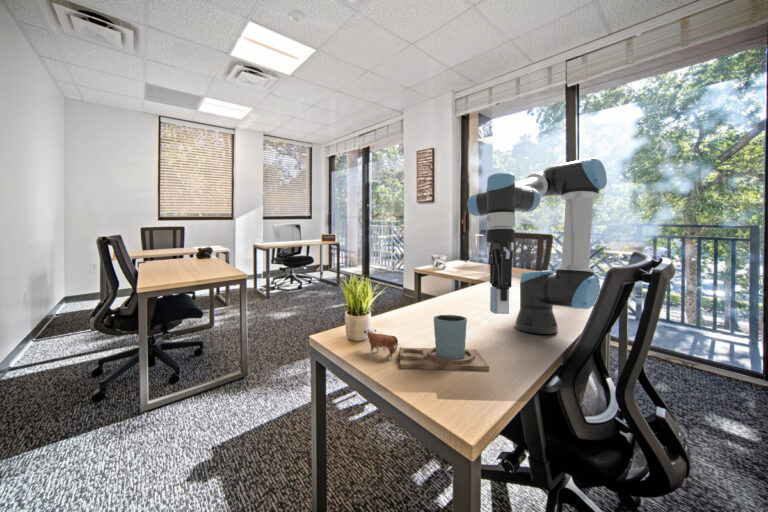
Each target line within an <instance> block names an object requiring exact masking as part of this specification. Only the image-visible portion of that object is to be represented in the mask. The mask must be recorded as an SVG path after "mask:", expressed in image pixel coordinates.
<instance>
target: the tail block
mask: <svg viewBox="0 0 768 512" xmlns="http://www.w3.org/2000/svg"><path fill="white" fill-rule="evenodd" d="M489 291H490V298H489V299H490V300H489V301H490V302H489V310H490V311H489V312H491V313H493V314H498V315H499V314H501V315H502V314H503V315H509V314H510V288H509V289H508V313H498V312H497V289H496V287H492V286H490V289H489Z"/></svg>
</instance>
